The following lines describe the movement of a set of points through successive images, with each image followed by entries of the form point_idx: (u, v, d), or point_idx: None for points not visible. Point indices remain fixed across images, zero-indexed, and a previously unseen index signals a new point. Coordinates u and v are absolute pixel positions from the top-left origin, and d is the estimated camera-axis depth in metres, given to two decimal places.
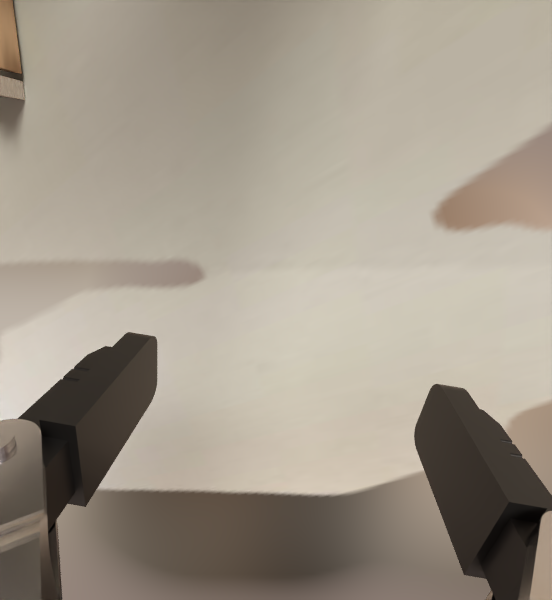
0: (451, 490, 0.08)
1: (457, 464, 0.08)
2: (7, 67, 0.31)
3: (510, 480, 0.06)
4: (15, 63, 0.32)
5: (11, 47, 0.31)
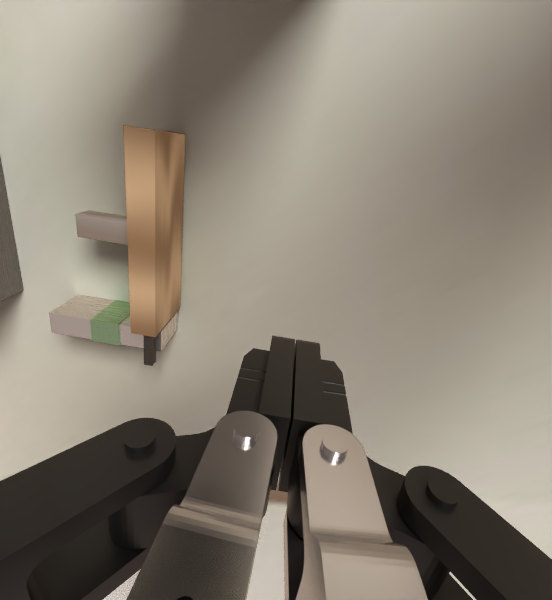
0: None
1: None
2: (172, 315, 0.24)
3: (307, 405, 0.08)
4: (177, 302, 0.25)
5: (176, 288, 0.24)
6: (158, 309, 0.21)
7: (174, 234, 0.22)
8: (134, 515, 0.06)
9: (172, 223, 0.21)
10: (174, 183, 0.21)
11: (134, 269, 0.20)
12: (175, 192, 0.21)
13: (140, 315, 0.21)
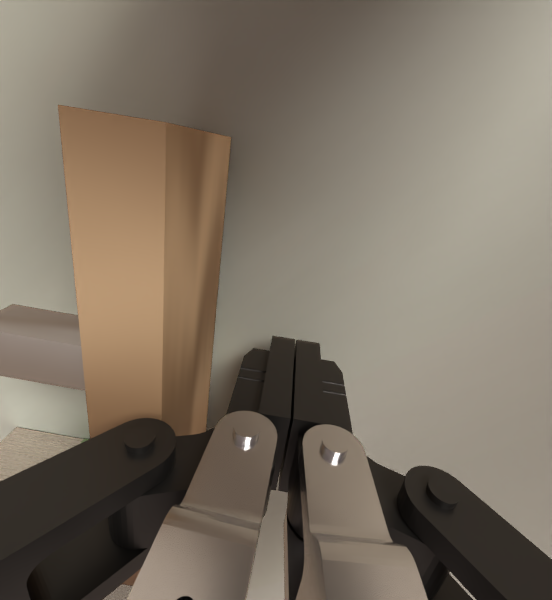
0: None
1: None
2: None
3: (307, 405, 0.08)
4: None
5: None
6: None
7: (202, 353, 0.10)
8: (134, 515, 0.06)
9: (199, 338, 0.09)
10: (207, 253, 0.09)
11: None
12: (207, 271, 0.09)
13: None
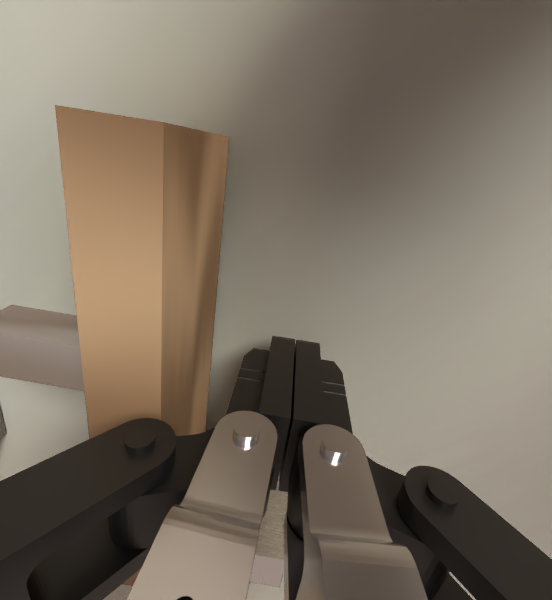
0: None
1: None
2: None
3: (307, 405, 0.08)
4: None
5: None
6: None
7: (201, 353, 0.10)
8: (134, 515, 0.06)
9: (197, 338, 0.09)
10: (205, 253, 0.09)
11: None
12: (206, 271, 0.09)
13: None
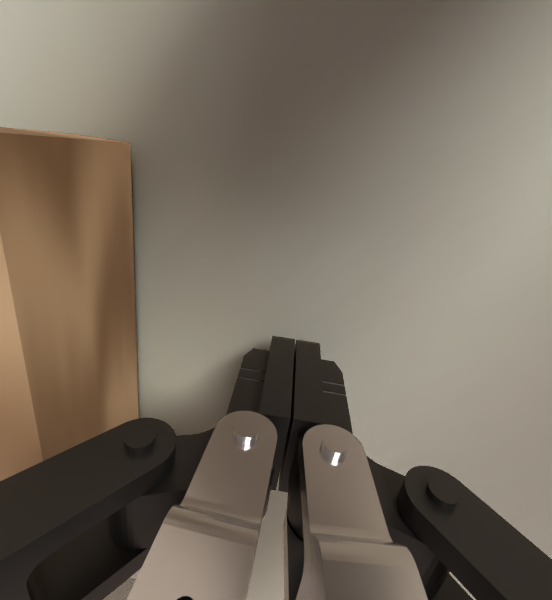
0: None
1: None
2: None
3: (307, 405, 0.08)
4: None
5: None
6: None
7: (114, 357, 0.10)
8: (134, 515, 0.06)
9: (103, 343, 0.09)
10: (102, 258, 0.09)
11: None
12: (107, 276, 0.09)
13: None
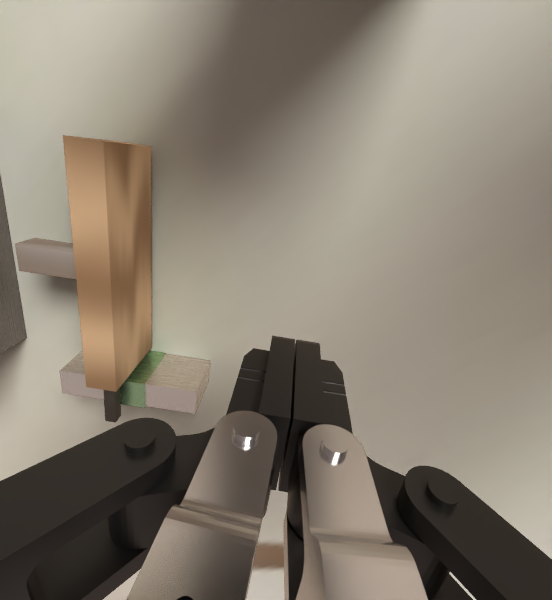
0: None
1: None
2: (140, 359, 0.20)
3: (307, 405, 0.08)
4: (147, 342, 0.21)
5: (145, 327, 0.20)
6: (119, 358, 0.18)
7: (140, 265, 0.18)
8: (134, 515, 0.06)
9: (136, 252, 0.18)
10: (137, 205, 0.17)
11: (86, 312, 0.16)
12: (139, 216, 0.17)
13: (96, 366, 0.17)
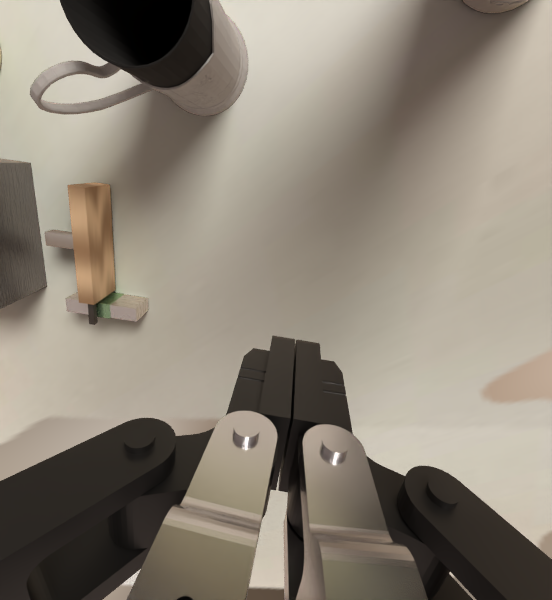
0: None
1: None
2: (108, 293, 0.39)
3: (307, 405, 0.08)
4: (112, 286, 0.40)
5: (110, 277, 0.39)
6: (95, 288, 0.36)
7: (106, 242, 0.37)
8: (134, 515, 0.06)
9: (103, 236, 0.36)
10: (102, 213, 0.35)
11: (78, 263, 0.35)
12: (104, 218, 0.36)
13: (83, 291, 0.36)
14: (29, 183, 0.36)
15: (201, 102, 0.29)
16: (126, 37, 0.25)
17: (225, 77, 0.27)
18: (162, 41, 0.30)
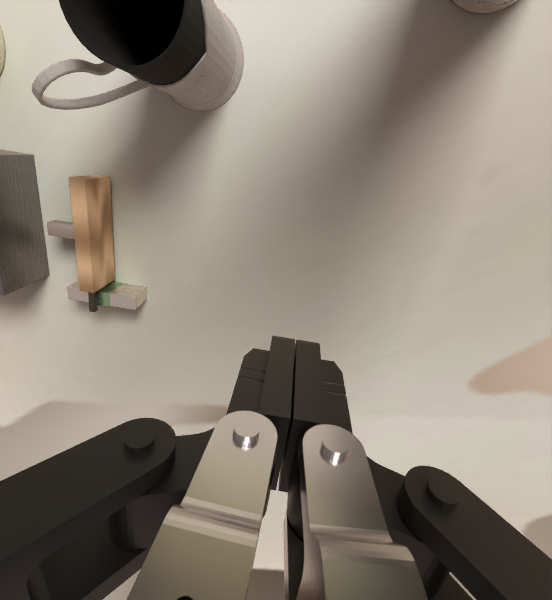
0: None
1: None
2: (107, 282, 0.40)
3: (307, 405, 0.08)
4: (112, 275, 0.41)
5: (110, 266, 0.40)
6: (95, 276, 0.37)
7: (105, 233, 0.38)
8: (134, 515, 0.06)
9: (102, 227, 0.37)
10: (102, 204, 0.37)
11: (79, 253, 0.36)
12: (104, 209, 0.37)
13: (84, 279, 0.37)
14: (32, 175, 0.38)
15: (197, 98, 0.30)
16: (124, 35, 0.26)
17: (220, 74, 0.28)
18: (160, 38, 0.31)
